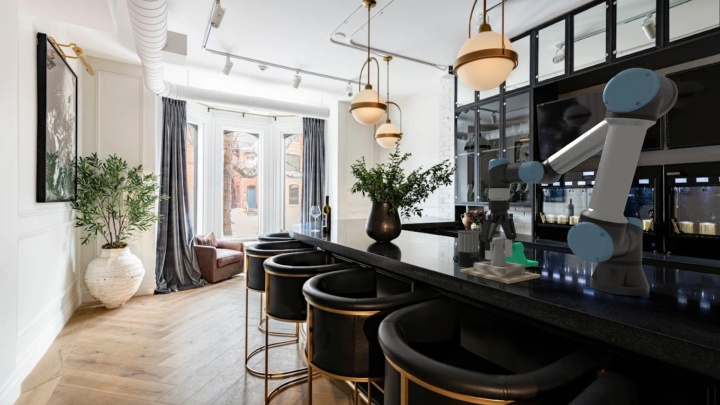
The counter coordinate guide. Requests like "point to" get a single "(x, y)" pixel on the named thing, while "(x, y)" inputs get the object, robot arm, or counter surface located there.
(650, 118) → the robot arm
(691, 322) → the counter surface
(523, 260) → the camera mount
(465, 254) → the milk frother
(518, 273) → the socket holder
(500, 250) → the salt shaker
